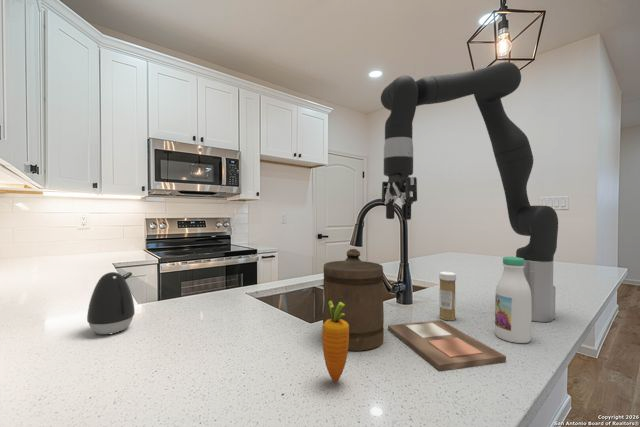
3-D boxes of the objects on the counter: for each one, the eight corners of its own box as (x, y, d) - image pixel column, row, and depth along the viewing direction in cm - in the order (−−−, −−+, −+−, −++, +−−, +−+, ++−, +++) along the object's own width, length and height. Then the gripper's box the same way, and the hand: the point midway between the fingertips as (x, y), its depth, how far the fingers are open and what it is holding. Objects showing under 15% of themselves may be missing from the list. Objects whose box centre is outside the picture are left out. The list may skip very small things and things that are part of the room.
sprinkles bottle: (458, 319, 91) (459, 273, 91) (449, 322, 89) (449, 274, 89) (445, 314, 95) (445, 270, 95) (435, 317, 93) (436, 272, 93)
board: (440, 324, 87) (440, 319, 87) (505, 361, 66) (506, 354, 66) (387, 329, 83) (387, 324, 83) (439, 371, 62) (439, 363, 62)
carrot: (320, 375, 60) (321, 297, 60) (346, 374, 60) (347, 296, 60) (323, 390, 55) (323, 305, 55) (351, 389, 55) (351, 304, 55)
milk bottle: (525, 334, 81) (526, 256, 80) (535, 346, 73) (536, 260, 73) (492, 330, 83) (493, 254, 83) (498, 341, 76) (499, 259, 76)
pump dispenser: (144, 327, 84) (144, 270, 84) (103, 342, 74) (103, 278, 74) (119, 321, 88) (119, 267, 88) (78, 334, 79) (78, 274, 78)
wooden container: (349, 323, 88) (349, 244, 88) (395, 338, 77) (396, 249, 77) (310, 338, 77) (310, 249, 77) (357, 358, 67) (358, 255, 67)
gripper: (426, 153, 76) (426, 220, 76) (397, 161, 90) (397, 218, 90) (398, 151, 74) (398, 220, 74) (373, 160, 88) (373, 218, 88)
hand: (397, 219), depth 82 cm, fingers open, 8 cm apart
